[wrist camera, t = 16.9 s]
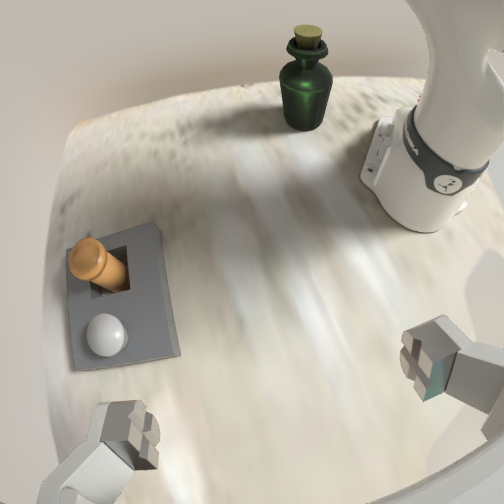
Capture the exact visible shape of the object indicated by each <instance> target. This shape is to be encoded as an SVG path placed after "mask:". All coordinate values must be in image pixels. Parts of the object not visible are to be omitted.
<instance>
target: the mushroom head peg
mask: <svg viewBox="0 0 504 504" xmlns="http://www.w3.org/2000/svg"><path fill="white" fill-rule="evenodd" d="M69 267H70V271H71V272H72V274H73V275H74V276H75V277H77V278H79V279H81V280H83V281H92V282H94V283H96V284H98V285H100V286H102V287H104V288H106V289H108V290H110V291H112V292H114V293H118V292H122V291H124V290H125V289H126V288H127V287H128V286H129V284H130V279H129V269H128V267H127V266H126V265H125V264H124V263H122V262H121V261H119V260H118V259H117V258H115V257H114V256H112V255H111V254H110V253H108V252H107V251H106V248H105V247H104V245H103V244H102V243H100V242H99V241H98V240H96V239H95V238H91V237H88V238H84V239H82V240H80V241H79V242H78V243H77V244H76V245H75V246H74V247H73V249H72V251H71V253H70V257H69Z"/></svg>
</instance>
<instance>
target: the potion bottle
mask: <svg viewBox="0 0 504 504" xmlns="http://www.w3.org/2000/svg"><path fill="white" fill-rule="evenodd" d="M294 33H295V37H293V38H292V39H291V40H290V41H289V43H288V45H287V49H286V50H287V52H288V53H289V54H290V55H292V56H293V57H295V59H296V60H294V61H291V62H289V63H287V64H286V65H285V66H284V67H283V68H282V70H281V71H280V75H279V80H280V87H281V94H282V101H283V109H284V116H285V119H286V122H287V123H288V124H289V125H290V126H291V127H293V128H296V129H298V130H305V131H307V130H313V129H315V128H317V127H319V126H320V124H321V123H322V121H323V117H324V114H325V110H326V106H327V102H328V98H329V95H330V91H331V87H332V83H333V77H332V75H331V73H330V72H329V70H328V68H327V67H326V66H324V65H323V64H321V63H319V62H318V61H319V59H322V58H325V57H326V56H327V55H328V48H327V45H326V43H325V42H324V41H323V40H321V39H320V38H321V35H322V30H321V29H320V28H318V27H316V26H313V25H300V26H296V27H295V28H294Z"/></svg>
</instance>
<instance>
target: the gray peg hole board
mask: <svg viewBox="0 0 504 504" xmlns="http://www.w3.org/2000/svg"><path fill="white" fill-rule="evenodd" d="M96 240H98V241H99V242H100V243H102V244H103V245H104V247H105V248H106V251H107V252H108V253H110V254H111V255H112V256H114V257H115V258H118V257H122V256H125V255H127V259H128V269H129V279H130V287H131V289H130V290H126V291H122V292H118V293H114V294H110V295H107V296H103V297H101V288H100V285H98V284H96V283H94V282H92V281H83V280H81V279H79V278H77V277H75V276H74V275H73V274H72V272H71V271H70V267H69V257H70V253H71V251H72V249H73V248H70V249H67V250H66V272H67V298H68V313H69V325H70V335H71V344H72V352H73V359H74V366H75V370H77V371H91V370H98V369H106V368H113V367H119V366H126V365H132V364H138V363H144V362H150V361H156V360H161V359H167V358H172V357H177V356H181V352H180V348H179V343H178V338H177V333H176V328H175V322H174V317H173V312H172V306H171V300H170V294H169V288H168V282H167V276H166V269H165V263H164V256H163V249H162V241H161V234H160V230H159V229H158V227H157V226H156V225H155V224H154V223H153V222H150V223H147V224H144V225H140V226H137V227H134V228H131V229H128V230H124V231H121V232H118V233H115V234H112V235H109V236H106V237H103V238H100V239H96Z"/></svg>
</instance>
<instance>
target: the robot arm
mask: <svg viewBox="0 0 504 504" xmlns="http://www.w3.org/2000/svg"><path fill="white" fill-rule="evenodd" d="M405 1H406V3H407V4H408V5H409V6H410V8H411V9H412V10H413V12H414V13H415V15H416V17H417V18H418V20H419V22H420V24H421V26H422V29H423V31H424V34H425V37H426V40H427V44H428V49H429V69H428V74H427V78H426V82H425V85H424V88H423V92H422V94H421V96H419V97H420V100H418V104H417V105H416V106H415V107H414V108H400V109H398V110H397V111H396V112H395V115H394V116H388V117H382V118H380V119H379V121H378V124H377V127H376V130H375V133H374V136H373V139H372V142H371V145H370V148H369V151H368V154H367V157H366V160H365V163H364V166H363V168H362V171H361V174H360V178H361V180H362V182H363V183H364V184H365V185H366V186H367V187H369V188H370V189H371V190H372V191H373V192H374V193H375V194H376V196H377V198H378V199H379V201H380V203H381V205H382V206H383V208H384V209H385V210H386V212H387V213H388V214H389V215H390V216H391V217H392V218H393V219H394V220H396V221H397V222H398V223H400V224H401V225H403V226H405V227H407V228H409V229H411V230H414V231H418V232H435V231H438V230H440V229H442V228H444V227H445V226H446V225H447V224H448V223H449V221H450V220H451V219H452V217H453V216H454V215H455V214H458V213H460V212H462V211H463V210H464V209H465V208H466V206H467V201H466V200H467V198H468V197H469V195H470V194H471V193H472V191H473V190H474V188H475V187H476V185H477V184H478V182H479V178H480V177H481V176H482V174H483V173H484V172H485V169H486V168H487V166H488V164H489V160H490V158H491V156H492V155H493V154H494V153H495V151H496V150H497V149H498V147H499V146H500V145H501V143H502V142H503V141H504V84H503V82H502V80H501V79H500V78H499V76H498V75H497V73H496V72H495V71H494V69H493V68H492V66H491V64H490V62H489V60H488V58H487V54H488V53H489V51H491V50H493V51H496V52H498V53H501V54H503V55H504V0H405ZM369 170H371V171H372V172H370V171H369ZM401 342H402V343H403V344H404V347H403V348H402V350H401V351H400V363H401V367H402V370H403V372H404V374H405V375H406V377H407V378H408V379H411V380H414V381H415V382H414V389H415V391H416V392H417V394H418V395H419V397H420V398H421V400H422V401H423V402H424V401H426V400H428V399H430V398H433V397H435V396H437V395H439V394H441V393H443V392H445V393H447V394H448V395H450V396H452V397H454V398H456V399H458V400H460V401H462V402H464V403H466V404H468V405H470V406H472V407H474V408H476V409H478V410H480V411H482V412H484V413H486V414H488V417H487V419H486V420H485V422H484V424H483V425H482V428H481V431H482V433H483V434H484V436H485V437H486V439H487V440H488V441H487V442H485V443H484V444H482V445H481V446H479V447H478V448H476V449H475V450H473V451H472V452H470V453H469V454H467V455H465V456H464V457H462V458H461V459H459V460H457V461H456V462H454V463H452V464H450V465H449V466H447V467H445V468H443V469H442V470H440V471H438V472H436V473H434V474H433V475H430V476H429V477H427V478H425V479H423V480H421V481H419V482H417V483H414V484H412V485H410V486H408V487H406V488H404V489H402V490H399V491H397V492H395V493H392V494H390V495H388V496H385V497H383V498H380V499H378V500H375V501H372V502H370V503H367V504H504V349H501V348H498V347H494V346H491V345H487V344H484V343H481V342H478V341H476V342H474V343H473V342H472V341H471V340H470V339H469V338H468V337H467V336H466V335H465V334H464V333H463V332H462V331H461V330H460V329H459V328H458V327H457V326H456V325H455V324H454V323H453V322H452V321H451V320H450V319H449V318H448V317H447V316H446V315H440V316H438V317H436V318H434V319H432V320H430V321H427V322H425V323H422V324H420V325H418V326H415V327H413V328H411V329H408V330H406V331H404V332H403V334H402V339H401ZM159 441H160V429H159V425H158V422H157V420H156V419H155V417H154V416H153V415H152V414H150V413H148V412H146V405H145V404H144V403H143V402H142V400H130V401H117V402H104V403H98V404H97V405H96V407H95V410H94V414H93V417H92V421H91V424H90V427H89V431H88V435H87V438H86V442H81V443H80V444H79V445H78V446H77V447H76V449H75V450H74V451H73V452H72V453H71V454H70V455H69V456H68V457H67V458H66V459H65V460H64V461H63V462H62V463H61V464H60V465H59V466H58V467H57V468H56V469H55V470H54V471H53V472H52V473H51V474H50V475H49V476H48V477H47V478H46V479H45V480H44V481H43V482H42V484H41V488H40V492H39V496H38V500H37V504H113V503H114V502H115V500H116V499H117V497H118V496H119V494H120V493H121V491H122V490H123V488H124V487H125V485H126V484H127V482H128V481H129V479H130V478H131V476H132V475H133V473H134V470H153V469H157V467H158V456H159V452H158V451H157V449H156V448H155V446H156V445H157V444H158V443H159ZM0 504H4V503H2V502H0Z"/></svg>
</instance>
